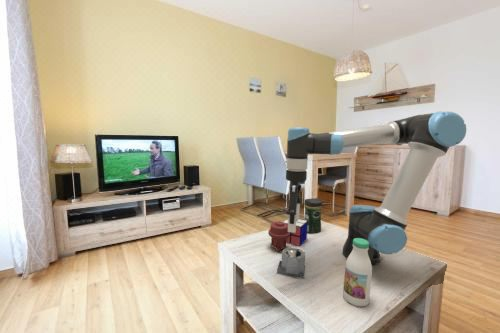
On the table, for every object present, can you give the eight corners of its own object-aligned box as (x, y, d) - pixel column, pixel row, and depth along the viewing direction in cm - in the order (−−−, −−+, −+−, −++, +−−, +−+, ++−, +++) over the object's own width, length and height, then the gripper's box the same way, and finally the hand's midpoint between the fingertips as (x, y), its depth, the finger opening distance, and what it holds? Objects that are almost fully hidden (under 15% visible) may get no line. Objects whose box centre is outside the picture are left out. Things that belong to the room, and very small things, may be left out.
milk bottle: (352, 288, 80) (357, 233, 78) (373, 301, 74) (380, 242, 71) (337, 296, 76) (342, 238, 74) (359, 311, 70) (365, 248, 67)
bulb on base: (304, 268, 92) (306, 248, 91) (303, 278, 85) (304, 256, 84) (279, 263, 95) (280, 244, 94) (276, 273, 88) (277, 252, 87)
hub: (304, 263, 92) (305, 249, 92) (303, 275, 84) (304, 260, 84) (283, 260, 95) (284, 246, 94) (280, 271, 87) (281, 256, 86)
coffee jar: (314, 227, 135) (316, 196, 133) (323, 232, 128) (325, 199, 126) (300, 228, 132) (302, 197, 130) (308, 234, 125) (310, 201, 122)
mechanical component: (289, 244, 112) (288, 254, 103) (269, 242, 114) (266, 251, 104) (290, 220, 111) (290, 228, 101) (270, 218, 113) (267, 225, 103)
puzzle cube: (300, 246, 110) (301, 226, 109) (280, 241, 115) (281, 222, 114) (306, 239, 119) (308, 220, 117) (288, 234, 124) (289, 216, 123)
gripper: (290, 165, 98) (288, 213, 101) (280, 174, 74) (278, 236, 77) (308, 166, 96) (305, 215, 98) (304, 175, 72) (301, 240, 75)
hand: (293, 225), depth 88 cm, fingers open, 13 cm apart
